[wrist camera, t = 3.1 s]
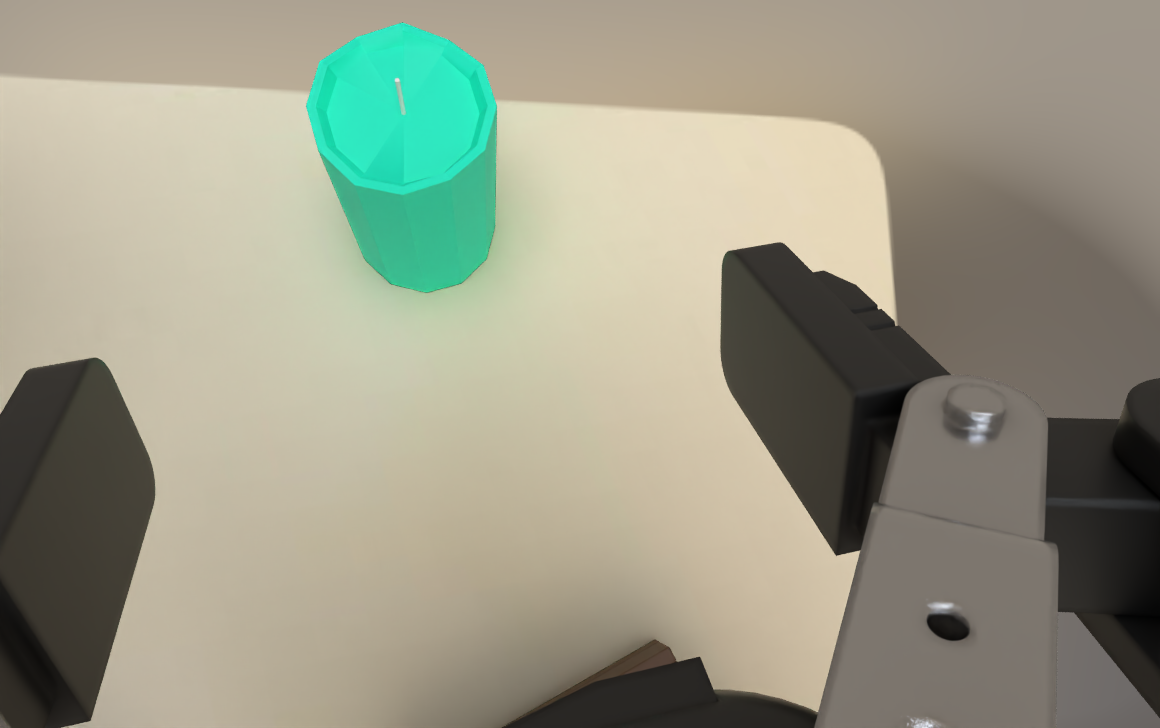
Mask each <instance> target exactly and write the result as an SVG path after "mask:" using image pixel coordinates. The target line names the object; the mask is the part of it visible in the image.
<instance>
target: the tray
mask: <svg viewBox="0 0 1160 728" xmlns="http://www.w3.org/2000/svg"><path fill="white" fill-rule="evenodd" d="M675 662H676V659H675V657H674V655H673V653H672V651H671V649H670V648H669V647H668V646H666V645H664V644H662V643H660V642H659V641H657V640H653V641H652V642H650V643H648V644H646V645H645V646H643V647H641V648H639V649H638V650H636V651H634V652H632V653H631V654H629V655H627V656H626V657H624V658H622V659H620V660H619V661H617V662H615V663H613V664H612V665H610V666H608V667H606V668H605V669H603V670H601V671H599V672H598V673H596V674H594V675H593V676H591V677H589V678H587V679H586V680H584V681H582V682H580V683H579V684H577V685H575V686H573V687H572V688H570V689H568V690H566V691H565V692H563V693H561V694H559V695H558V696H556V697H554V698H553V699H551V700H549V701H547V702H546V703H544V704H542V705H540V706H539V707H537V708H535V709H533V710H532V711H530V712H528V713H526V714H525V715H523V716H521V717H519V718H518V719H516V720H514V721H513V722H515V721H517V720H519V719H521V718H523V717H525V716H527V715H529V714H531V713H533V712H535V711H537V710H539V709H541V708H543V707H545V706H547V705H549V704H551V703H553V702H555V701H557V700H559V699H561V698H563V697H565V696H567V695H569V694H571V693H573V692H575V691H577V690H579V689H581V688H583V687H585V686H587V685H589V684H591V683H593V682H595V681H599V680H604V679H608V678H612V677H616V676H620V675H625V674H629V673H633V672H637V671H642V670H646V669H650V668H654V667H658V666H663V665H667V664H671V663H675ZM513 722H511V723H513ZM511 723H509V724H511ZM509 724H507V725H509ZM507 725H506V726H507ZM504 727H505V726H504ZM502 728H503V727H502Z"/></svg>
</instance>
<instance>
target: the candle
mask: <svg viewBox="0 0 1160 728" xmlns="http://www.w3.org/2000/svg"><path fill="white" fill-rule="evenodd" d="M306 107H307V111H308V115H309V118H310V122H311V126H312V129H313V133H314V136H315V140H316V144H317V147H318V151H319V153H320V156H321V158H322V160H323V163H324V165H325V167H326V170H327V172H328V174H329V177H330V179H331V181H332V184H333V186H334V188H335V191H336V193H337V195H338V198H339V200H340V203H341V205H342V207H343V210H344V212H345V214H346V217H347V219H348V221H349V224H350V226H351V228H352V231H353V233H354V235H355V238H356V240H357V242H358V245H359V247H360V249H361V252H362V254H363V257H364V259H365V260H366V261H367V262H368V263H369V264H370V265H371V266H372V267H373V268H374V269H375V270H376V271H377V272H378V273H380V274H381V275H382V276H383V277H384V278H385V279H386V280H387V281H388V282H389V283H390V284H393V285H397V286H401V287H405V288H409V289H413V290H417V291H422V292H426V293H427V292H431V291H435V290H438V289H442V288H446V287H450V286H453V285H457V284H461V283H462V282H463V281H464V280H465V279H466V278H468V277H469V276H470V275H471V274H472V273H473V272H474V271H475V270H476V269H477V268H478V267H479V266H480V265H481V264H482V263H483V262H484V261H485V260H486V259H487V255H488V252H489V248H490V244H491V240H492V236H493V233H494V229H495V197H496V130H497V105H496V102H495V99H494V96H493V93H492V90H491V87H490V84H489V81H488V78H487V74H486V71H485V69H484V66H483V65H482V64H481V63H480V62H478V61H477V60H476V59H474V58H473V57H472V56H470V55H469V54H468V53H466V52H465V51H463V50H462V49H461V48H459V47H458V46H456V45H455V44H454V43H453V42H451V41H450V40H447V39H445V38H442V37H440V36H437V35H434V34H432V33H429V32H426V31H424V30H421V29H419V28H416V27H413V26H411V25H408V24H405V23H403V22H402V23H399V24H396V25H393V26H390V27H387V28H384V29H381V30H378V31H374V32H371V33H368V34H365V35H362V36H359V37H356V38H355V39H353V40H352V41H350V42H348V43H347V44H345V45H344V46H342V47H341V48H339V49H338V50H336V51H335V52H333V53H332V54H330V55H329V56H327V57H326V58H324V59H323V60H321V61H320V62H319V65H318V68H317V72H316V75H315V78H314V82H313V85H312V88H311V91H310V95H309V98H308V101H307V105H306Z"/></svg>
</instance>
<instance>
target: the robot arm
mask: <svg viewBox="0 0 1160 728" xmlns="http://www.w3.org/2000/svg"><path fill="white" fill-rule="evenodd" d="M721 361H722V367H723V372H724V376H725V379H726V382H727V385H728V387H729V390H730V392H731V393H732V395H733V397H734V398H735V400H736V401H737V403H738V404H739V406H740V408H741V409H742V411H743V412H744V414H745V415H746V417H747V418H748V420H749V422H750V423H751V425H752V426H753V428H754V429H755V431H756V432H757V434H758V435H759V437H760V439H761V440H762V442H763V443H764V445H765V446H766V448H767V449H768V451H769V453H770V454H771V456H772V457H773V459H774V460H775V462H776V463H777V465H778V466H779V468H780V470H781V471H782V473H783V474H784V476H785V477H786V479H787V480H788V482H789V483H790V485H791V487H792V488H793V490H794V491H795V493H796V494H797V496H798V497H799V499H800V501H801V502H802V504H803V505H804V507H805V508H806V510H807V511H808V513H809V514H810V516H811V518H812V519H813V521H814V522H815V524H816V525H817V527H818V528H819V530H820V532H821V533H822V535H823V536H824V538H825V539H826V541H827V542H828V544H829V545H830V547H831V549H832V550H833V552H834V553H835V555H836V556H837V555H841V554H846V553H850V552H855V551H859V550H861V551H860V555H859V559H858V562H857V566H856V570H855V574H854V578H853V581H852V585H851V589H850V593H849V597H848V601H847V604H846V608H845V612H844V616H843V620H842V624H841V627H840V631H839V635H838V639H837V643H836V647H835V650H834V654H833V658H832V662H831V666H830V669H829V673H828V677H827V681H826V685H825V689H824V692H823V696H822V700H821V704H820V708H819V712H816V711H813V710H811V709H809V708H807V707H804V706H801V705H798V704H795V703H792V702H789V701H786V700H783V699H780V698H775V697H771V696H766V695H762V694H758V693H751V692H743V691H734V690H713V687H712V685H711V683H710V680H709V678H708V675H707V673H706V670H705V668H704V665H703V663H702V660H701V658H700V657H696V658H692V659H688V660H684V661H679V662H675V663H671V664H667V665H663V666H658V667H654V668H650V669H646V670H642V671H637V672H633V673H629V674H625V675H620V676H616V677H612V678H608V679H604V680H599V681H595V682H593V683H591V684H589V685H587V686H585V687H583V688H581V689H579V690H577V691H575V692H573V693H571V694H569V695H567V696H565V697H563V698H561V699H559V700H557V701H555V702H553V703H551V704H549V705H547V706H545V707H543V708H541V709H539V710H537V711H535V712H533V713H531V714H529V715H527V716H525V717H523V718H521V719H519V720H517V721H515V722H513V723H511V724H509V725H507V726H505V727H503V728H1056V697H1057V692H1056V691H1057V630H1058V612H1074V613H1075V614H1076V615H1077V617H1078V618H1079V619H1080V620H1081V622H1082V623H1083V624H1084V625H1085V626H1086V628H1087V629H1088V630H1089V631H1090V633H1091V634H1092V635H1093V636H1094V637H1095V639H1096V640H1097V641H1098V642H1099V644H1100V645H1101V646H1102V647H1103V649H1104V650H1105V651H1106V652H1107V654H1108V655H1109V656H1110V657H1111V658H1112V660H1113V661H1114V662H1115V663H1116V664H1117V666H1118V667H1119V668H1120V670H1121V671H1122V672H1123V673H1124V675H1125V676H1126V677H1127V678H1128V679H1129V681H1130V682H1131V683H1132V684H1133V686H1134V687H1135V688H1136V689H1137V691H1138V692H1139V693H1140V694H1141V696H1142V697H1143V698H1144V699H1145V700H1146V702H1147V703H1148V704H1149V705H1150V707H1151V708H1152V709H1153V710H1154V711H1155V713H1156V714H1157V715H1158V717H1159V718H1160V378H1159V379H1153V380H1149V381H1145V382H1143V383H1140V384H1138V385H1137V386H1135V387H1134V388H1132V390H1131V391H1130V392H1129V393H1128V396H1127V399H1126V402H1125V405H1124V408H1123V411H1122V413H1121V416H1120V419H1072V418H1047V417H1046V415H1045V413H1044V411H1043V410H1042V408H1041V407H1040V406H1039V404H1038V403H1036V402H1035V401H1034V400H1033V399H1032V398H1031V397H1029V396H1028V395H1027V394H1025V393H1024V392H1022V391H1020V390H1018V389H1016V388H1014V387H1012V386H1010V385H1007V384H1004V383H1002V382H999V381H996V380H993V379H988V378H984V377H978V376H971V375H951V374H950V373H949V372H947V371H946V370H945V369H944V368H943V367H942V366H941V365H940V364H939V363H938V362H937V361H936V360H935V359H934V358H933V357H932V356H930V354H928V353H927V352H926V351H925V350H924V349H923V348H922V347H921V346H920V345H919V344H918V343H917V342H916V341H915V340H914V339H913V338H911V337H910V336H909V335H908V334H907V333H906V332H905V331H904V330H903V329H902V328H901V327H900V326H895V321H894V320H893V319H891V318H890V317H889V316H888V315H887V314H886V313H885V312H884V311H883V310H882V309H879V310H878V308H877V304H876V303H875V302H874V301H872V300H871V299H870V298H869V297H868V296H867V295H866V294H865V293H864V292H863V291H862V290H861V289H860V288H859V287H858V286H857V285H855V284H852V283H850V282H848V281H846V280H844V279H841V278H839V277H837V276H835V275H833V274H830V273H828V272H826V271H819V272H812V271H811V270H810V269H809V268H808V267H807V266H806V265H805V264H804V263H803V262H802V261H801V260H800V259H799V258H798V257H797V256H796V255H795V254H794V253H793V252H792V251H791V250H790V249H789V248H788V247H787V246H786V245H785V244H783V243H781V242H779V243H773V244H767V245H761V246H755V247H749V248H743V249H737V250H732V251H728V252H727V253H726V254H725V256H724V259H723V263H722V286H721ZM154 500H155V479H154V473H153V468H152V464H151V461H150V457H149V455H148V453H147V450H146V448H145V446H144V444H143V441H142V439H141V437H140V435H139V433H138V430H137V428H136V426H135V424H134V422H133V419H132V417H131V415H130V413H129V411H128V408H127V406H126V404H125V402H124V400H123V397H122V395H121V393H120V391H119V389H118V386H117V384H116V382H115V380H114V378H113V376H112V374H111V372H110V370H109V368H108V367H107V366H106V364H105V363H104V362H103V361H102V360H100V359H98V358H90V359H84V360H78V361H72V362H66V363H60V364H54V365H49V366H43V367H37V368H32V369H29V370H28V371H26V373H25V374H24V375H23V377H22V379H21V380H20V382H19V384H18V386H17V387H16V389H15V391H14V392H13V394H12V396H11V397H10V399H9V401H8V402H7V404H6V406H5V408H4V409H3V411H2V413H1V414H0V728H61V727H66V726H70V725H74V724H79V723H83V722H88V721H91V717H92V714H93V710H94V707H95V704H96V700H97V697H98V693H99V690H100V686H101V683H102V680H103V676H104V673H105V669H106V666H107V663H108V659H109V656H110V652H111V649H112V645H113V642H114V639H115V635H116V632H117V628H118V625H119V622H120V618H121V615H122V611H123V608H124V604H125V601H126V598H127V594H128V591H129V587H130V584H131V580H132V577H133V574H134V570H135V567H136V563H137V560H138V557H139V553H140V550H141V546H142V543H143V539H144V536H145V533H146V529H147V526H148V522H149V519H150V515H151V512H152V509H153V505H154Z"/></svg>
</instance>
